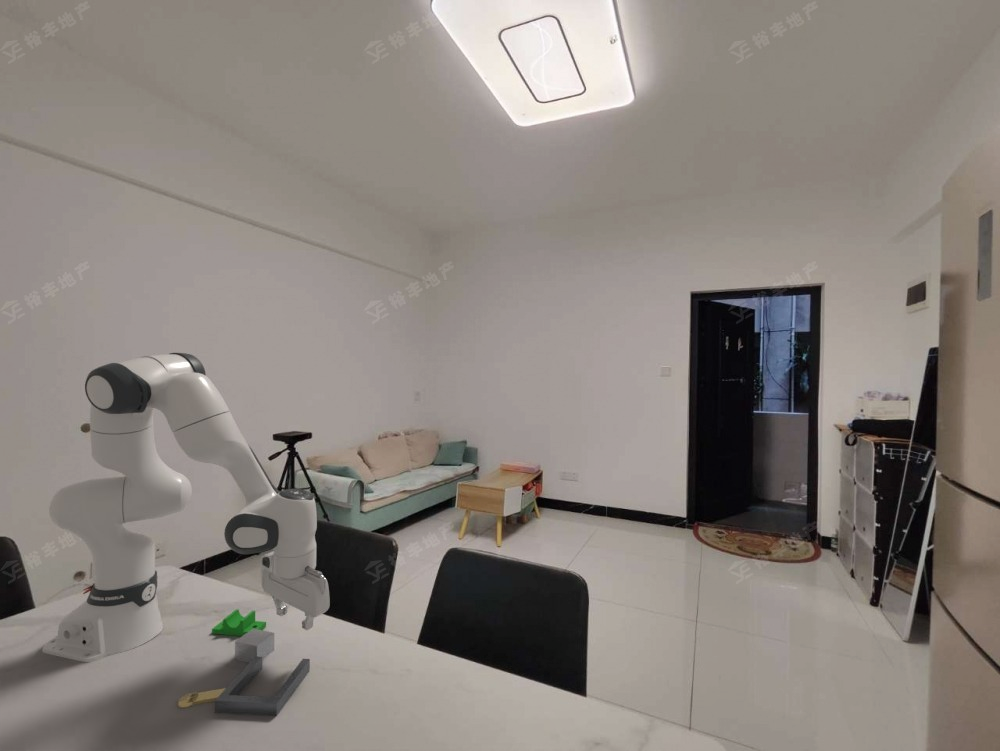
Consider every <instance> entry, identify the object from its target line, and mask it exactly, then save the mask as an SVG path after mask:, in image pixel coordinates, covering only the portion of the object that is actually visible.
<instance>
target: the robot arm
mask: <svg viewBox="0 0 1000 751" xmlns="http://www.w3.org/2000/svg"><path fill="white" fill-rule="evenodd" d="M84 382H85V384H84V390H85V395H86V399H88V401H89V403H90V408H89V409H90V410H89V431H90V433H89V434H90V435H89V436H90V448H91V449H90V450H91V456H92V459H93V460H94V461H95V462H96V463H97V464H98V465H99V466H100V467H101V468H105V469H108V470H111V471H116V472H118V473H121V474H122V475H123V476H114V477H105V478H96V479H93V478H92V479H88V480H83V481H78V482H74V483H71V484H67V485H64V486H62V487H61V488H60V489H59V490H58V491H57V492H56V493H55V494H54V495H53V497H52V499H51V500H50V503H49V508H48V513H49V518H50V519H51V521H52V522H53V523H54V524H55V525H56V526H57V527H59V529H63V530H66V531H68V532H70V533H72V534H73V535H75V536H77V537H78V538H80V539H81V540H82V541H83V542H84V544H85V545H86V546H87V547H88V549H89V550H90V553H91V556H92V562H93V574H94V577H93V578H94V582H93V583H92V585H89V586H88V587H86V588H84V589H82V591H84V592H83V593H82V594H83V595H85V594H87V593H89V595H88V596H87V599H86V600H85V601H84V602H83V603H81V604H80V605H78V606H77V607H76V608H74V609H73V610H72V611H71V612H69V613H68V614H67V615H65V617H63V619H61V621H60V623H59V624H58V630H57V635H56V636H54V637H53V638H52V639H50V640H49V641H48V642H46V644H45V645H44V646H43V647H42V650H41V651H42V653H43V654H46V655H51V656H57V657H60V658H65V659H70V660H72V661H73V660H74V661H79V662H83V663H92V662H95V661H98V660H102V659H103V658H105V657H109V656H113V655H116V654H121V653H124V652H127V651H130V650H132V649H136V648H137V647H140V646H141V645H144V644H146V643H148V642H149V641H151V640H152V639H154V638H156V636H158V635H159V634H160V633H161V632H162V630H163V629H164V623H163V620H162V615H161V614H162V613H161V611H160V609H159V608H160V607H159V602H158V595H157V589H158V572H157V571H158V570H156V544H155V542H154V541H153V539H152V538H150V536H149V537H148V536H146V535H144V534H140V533H137V532H132V531H130V530H128V529H126V528H125V527H124V526H123V524H125V523H126V524H127V523H132V522H138V521H145V520H153V519H154V520H155V519H159V518H163V517H166V516H170V515H173V514H177V513H179V512H182V511H183V510H184V509H185V508H186V507H187V505H188V504H189V503H190V500H191V499H192V496H193V495H192V494H193V487H192V483H191V481H190V480H189V478H187V476H185V475H184V474H183V473H181V472H178V471H176V470H174V469H172V468H171V467H169V466H168V465H167V464H166V463H165V462H164V461H163V460H162V458H161V457H160V455H159V453H158V450H157V447H156V441H155V439H156V438H155V431H154V430H155V429H154V428H155V426H154V409H156V410H158V411H160V412H161V413H162V414H163V416H164V418H165V419H166V421H167V423H168V426H169V428H170V430H171V432H172V435H173V437H174V438H175V440H176V443H177V444H178V446H179V447H180V449H181V450H182V452H183V453H184V454H185V455H186V456H187V457H188V458H189V459H191V460H194V461H196V462H200V463H205V464H212V465H213V464H214V465H217V466H219V467H222V468H224V469H225V470H226V471H227V472H228V473H229V474H230V475H231V477H232V478H233V481H235V483H236V485H237V487H238V488H239V490H240V491H241V493H242V494H243V497H244V498H245V502H246V505H245V507H243V508H242V509H241V510H240V511H238V512H237V513H236V514H235V515H234V516H233V517H232V518H230V520H229V521H227V523H226V525H225V528H224V540H225V543H226V545H227V546H228V547H229V548H230V550H232V551H234V552H235V553H238V554H239V555H240V554H241V555H251V554H258V553H263V552H267V551H270V552H267V553H265V554H263V555H261V556H260V565H261V570H260V571H261V572H260V577H261V578H260V579H261V580H260V582H261V588H262V590H263V592H264V593H265V594H268V595H270V596H272V597H273V598H272V600H273V603H274V606H275V608H276V615H277V616H280V617H283V616H286V615H287V614H288V605H289V606H291V607H294V608H295V609H297V610H299V611H301V612H302V613H304V616H305V619H304V620H302V621H301V628H302V629H303V630H305V631H309V630H310V629H312V628H313V627H314V620H315V619H316V618H317V617H319V616H321V615H323V614H324V613H326V612H327V611H328V610H329V609H330V604H331V603H330V602H331V601H330V590H329V589H330V588H329V583H328V579H327V578H326V577H325V576H324V575H323V572H322V571H320V570H316V567H317V541H316V536H315V535H316V531H317V528H318V524H317V523H318V520H317V519H318V517H317V516H318V514H317V513H318V512H317V505H316V500H315V497H314V496H313V494H312V493H311V492H309V491H307V490H304V489H302V488H289V489H283V490H279V489H278V488H277V487H275V485H274V484H273V482H272V481H271V479H270V477H269V476H268V474H267V472H266V470H265V469H264V467H263V465H262V463H261V462H260V460H259V459H258V456H257V455H256V453H255V452H254V450H253V449H252V448H251V446H250V445H249V443H248V442H247V440H246V439H245V437H244V435H243V434H242V432H241V430H240V428H239V427H238V425H237V423H236V421H235V419H234V417H233V415H232V412H231V411H230V408H229V407H228V405H227V403H226V401H225V399H224V398H223V396H222V394H221V393H220V391H219V390H218V389H217V387H216V386H215V384H214V383H213V382H212V381H211V379H210V378H209V377H208V376H207V375H206V370H205V367H204V365H203V363H202V361H201V360H200V359H198V358H197V357H196V356H194V355H192V354H191V353H186V352H185V353H184V352H170V353H167V354H166V353H165V354H152V355H145V356H141V357H138V358H137V357H136V358H132V359H128V360H124V361H120V362H111V363H106V364H104V365H102V366H98V367H97V368H94V369H92V370H91V371H90V372H89V373H88V375H87V377H86V378H85V381H84ZM271 550H272V551H271ZM287 604H288V605H287Z"/></svg>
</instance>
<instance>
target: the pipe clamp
mask: <svg viewBox="0 0 1000 751" xmlns="http://www.w3.org/2000/svg"><path fill="white" fill-rule="evenodd" d="M266 627H267V621H259V620H256V610H251V611H250V612H249V613H248V614H247V615H246V616H243V614H241V612H240V609H238V608H237V609H235V610H234V611H232V612H231V613H229V614H228V615H227V616H225V617H224V618H223V619H222V621H221V622H219V623H218V624H216V625H215V626H214V627H212V628H211V634H214V635H227V636H237V637H238V636H239V637H242V636H243V635H245V634H246V633H248V632H249V631H250V630H252V629H253V628H254V629H258V630H263V631H264V629H265V628H266Z"/></svg>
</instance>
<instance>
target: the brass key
mask: <svg viewBox="0 0 1000 751" xmlns="http://www.w3.org/2000/svg"><path fill="white" fill-rule="evenodd" d="M226 688H227V687H223V688H219V689H218V688H217V689H211V690H207V691H202V692H194V691H193V692H190V693H189V692H188V693H186V694H184V695H183V696H181V697H180V698H179V699H178V703H177V706H178V708H180V709H185V708H189V707H191V706H195V705H200V704H206V703H210V702H215V700H216V699H217V698H218V696H219V695H220V694H221V693H222V692H223V691H224V690H225V689H226Z"/></svg>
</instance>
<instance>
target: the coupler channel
mask: <svg viewBox="0 0 1000 751" xmlns="http://www.w3.org/2000/svg"><path fill="white" fill-rule="evenodd" d="M310 660H311V659H310V658H302V659H301V661H300V662H299V663H298V665H297V666H296V667H295V668H294V670H293V671H292V673H291V674H290V675H289V676H288V677H287V679H286V680H285V681H284V683H283V685H281V687H280V689H279V690H278V691H277V692H276V693H275V695H274V696H272V697H271V696H253V695H241V693H242V692H244V690H245V689H246V688H247V686H249V685H250V684H251V682H252V681H253V680H254V679H255V678H256V677H257V676H258V674H259V673H260V672H261V671H262V670H263V660H262V657H255V658H254V659H253V660H252V661H251V662H250V663H249V662H248V664H247V665H246V666H245V667H244V668H243V669H242V671H240V673H238V675H237V676H236V677H235V678H234V679H233V680H232V681H231V682H230V683H229V684H228V686H227V687H225V688H226V689H225V690H224V691H223V692H222V693H221V694H220V695H219V696H218V698H217V699H216V700H215V701H214V714H227V715H229V714H230V715H249V716H264V717H265V716H266V715H267V716H268V717H269V716H270V717H278V715H279V714H280V712H281V711H282V710H283V708H284V707H285V706H286V704H288V702H289V700H290V699H291V697H292V696H293V694H294V693H295V692H296V690H298V688H299V687H300V685H301V684H302V682H303V681H304V680H305V679H306V677H307V675H308V674H309V673H310V668H311V667H310V665H311V664H310V663H311V662H310Z"/></svg>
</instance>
